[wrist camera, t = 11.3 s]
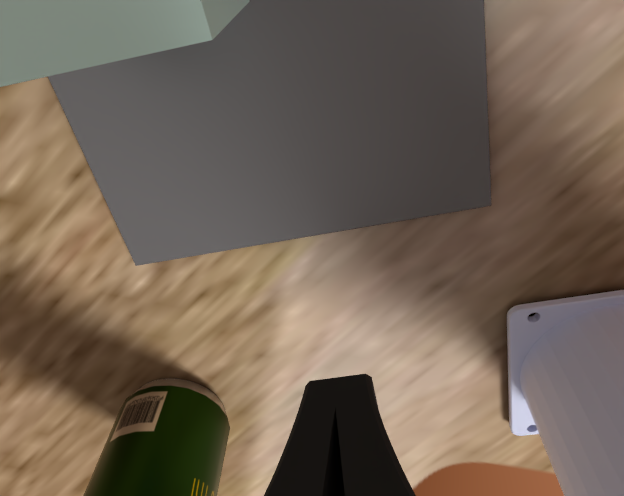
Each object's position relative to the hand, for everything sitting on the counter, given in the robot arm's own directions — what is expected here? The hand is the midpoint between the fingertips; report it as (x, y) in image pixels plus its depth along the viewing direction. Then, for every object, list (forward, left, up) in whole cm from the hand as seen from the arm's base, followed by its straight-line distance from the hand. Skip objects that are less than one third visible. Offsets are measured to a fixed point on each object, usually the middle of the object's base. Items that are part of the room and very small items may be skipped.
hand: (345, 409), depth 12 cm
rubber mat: (+1, -6, -10) cm, 12 cm away
